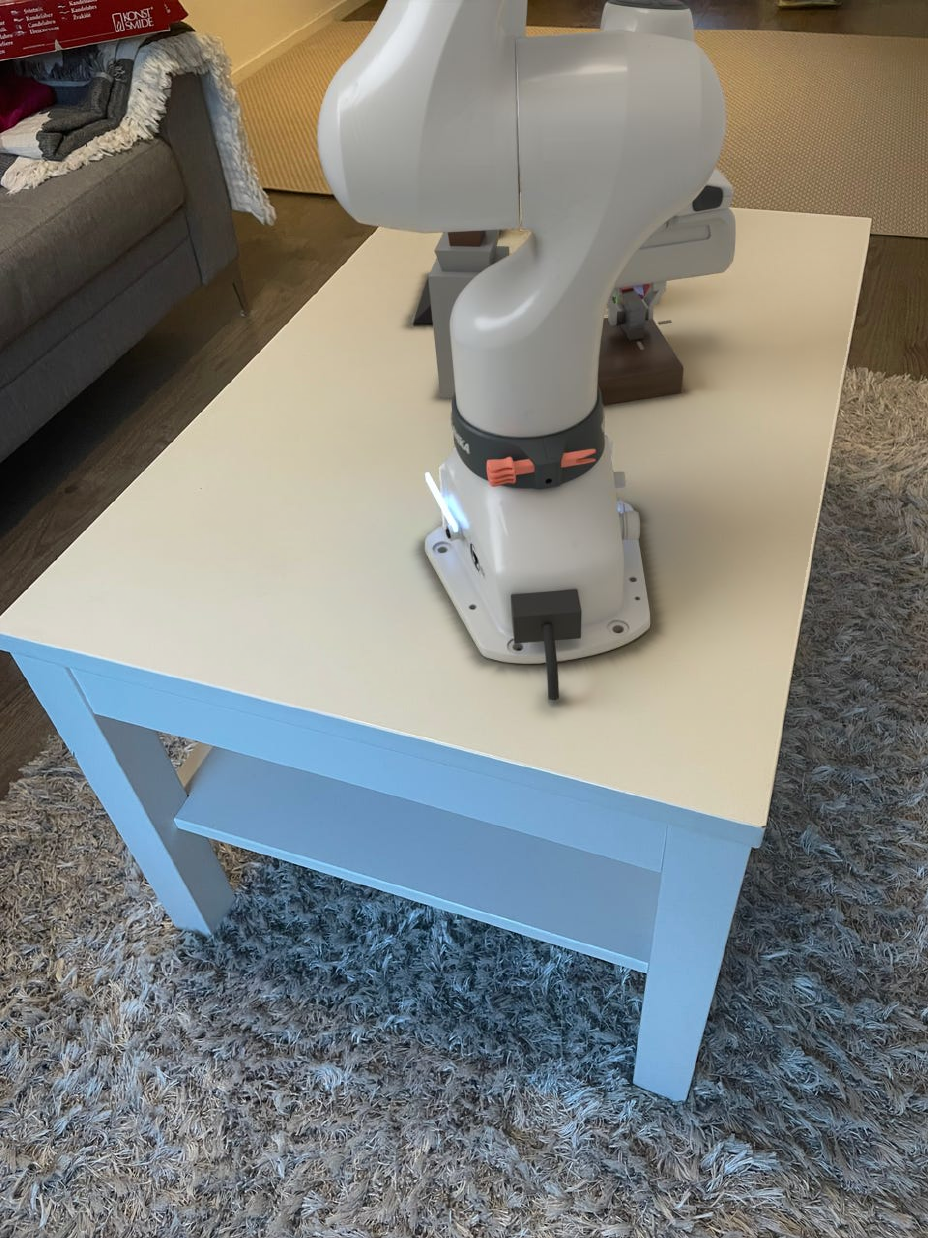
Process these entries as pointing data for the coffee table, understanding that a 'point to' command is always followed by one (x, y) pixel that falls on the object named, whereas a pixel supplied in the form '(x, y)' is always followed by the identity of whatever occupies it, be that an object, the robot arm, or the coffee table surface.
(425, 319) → the black triangular piece
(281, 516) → the coffee table surface
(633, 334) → the grey block
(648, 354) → the dark brown block
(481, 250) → the perfume bottle
